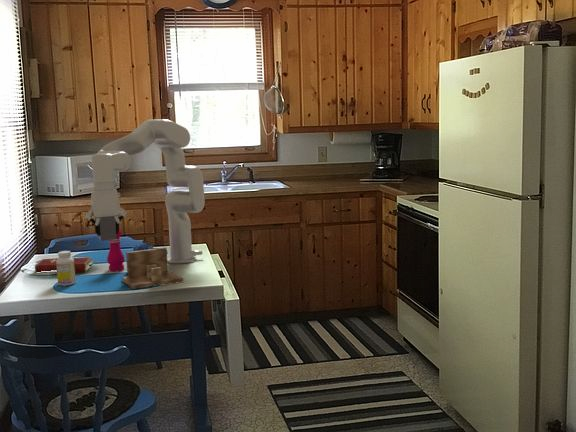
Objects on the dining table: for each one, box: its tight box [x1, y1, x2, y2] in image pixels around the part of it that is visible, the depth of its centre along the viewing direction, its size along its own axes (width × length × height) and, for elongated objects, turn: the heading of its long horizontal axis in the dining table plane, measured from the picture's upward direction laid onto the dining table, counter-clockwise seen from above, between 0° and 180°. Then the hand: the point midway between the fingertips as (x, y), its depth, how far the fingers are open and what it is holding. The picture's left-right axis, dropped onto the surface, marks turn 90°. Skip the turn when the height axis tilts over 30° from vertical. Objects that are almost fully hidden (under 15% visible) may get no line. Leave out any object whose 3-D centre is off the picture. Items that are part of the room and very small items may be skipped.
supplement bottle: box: [56, 250, 76, 287], centre depth 270 cm, size 7×7×13 cm
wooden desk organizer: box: [121, 247, 184, 290], centre depth 271 cm, size 20×15×12 cm
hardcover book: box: [34, 256, 93, 273], centre depth 296 cm, size 12×21×4 cm, turn 93°
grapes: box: [130, 242, 154, 252], centre depth 289 cm, size 12×7×12 cm, turn 94°
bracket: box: [98, 216, 117, 242], centre depth 259 cm, size 6×2×9 cm, turn 118°
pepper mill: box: [106, 227, 125, 272], centre depth 291 cm, size 7×7×20 cm
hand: (107, 233), depth 259 cm, fingers closed on bracket, 6 cm apart
